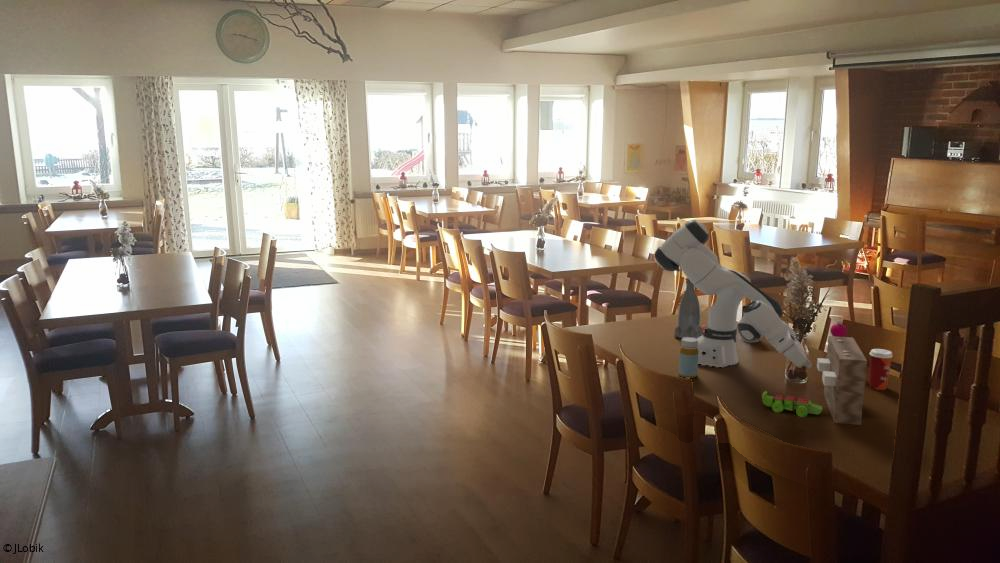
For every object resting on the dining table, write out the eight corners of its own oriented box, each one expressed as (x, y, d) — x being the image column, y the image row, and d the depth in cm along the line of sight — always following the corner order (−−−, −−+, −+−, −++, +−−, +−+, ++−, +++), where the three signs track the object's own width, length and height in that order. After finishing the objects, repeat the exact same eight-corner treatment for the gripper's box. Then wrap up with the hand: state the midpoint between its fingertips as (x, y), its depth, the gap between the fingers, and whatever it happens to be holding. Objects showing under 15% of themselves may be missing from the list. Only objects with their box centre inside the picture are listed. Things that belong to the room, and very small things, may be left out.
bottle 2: (687, 380, 280) (688, 343, 277) (675, 374, 286) (676, 338, 283) (701, 377, 283) (702, 340, 280) (688, 371, 289) (690, 335, 286)
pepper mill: (847, 372, 286) (851, 323, 281) (827, 371, 287) (831, 322, 283) (842, 366, 293) (847, 318, 288) (823, 365, 294) (827, 317, 290)
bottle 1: (705, 341, 329) (708, 280, 323) (677, 341, 329) (679, 281, 323) (698, 333, 341) (701, 274, 335) (671, 333, 341) (673, 275, 335)
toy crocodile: (823, 414, 247) (825, 397, 246) (820, 421, 241) (822, 403, 240) (763, 403, 257) (764, 387, 256) (759, 410, 251) (760, 393, 250)
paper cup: (888, 392, 264) (892, 355, 261) (865, 388, 268) (868, 352, 265) (890, 385, 271) (894, 350, 268) (867, 382, 275) (870, 346, 272)
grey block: (818, 371, 254) (819, 362, 254) (816, 366, 259) (817, 358, 259) (837, 372, 253) (838, 364, 252) (835, 367, 258) (835, 359, 257)
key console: (834, 422, 240) (839, 357, 235) (823, 394, 264) (828, 335, 259) (860, 424, 237) (867, 359, 233) (847, 396, 262) (853, 336, 257)
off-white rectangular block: (824, 385, 241) (824, 376, 241) (821, 379, 246) (822, 370, 246) (843, 386, 240) (844, 377, 239) (841, 381, 245) (842, 372, 244)
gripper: (773, 335, 269) (800, 362, 268) (777, 352, 250) (806, 381, 249) (787, 324, 266) (814, 351, 266) (792, 340, 247) (821, 370, 247)
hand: (810, 366), depth 257 cm, fingers closed
